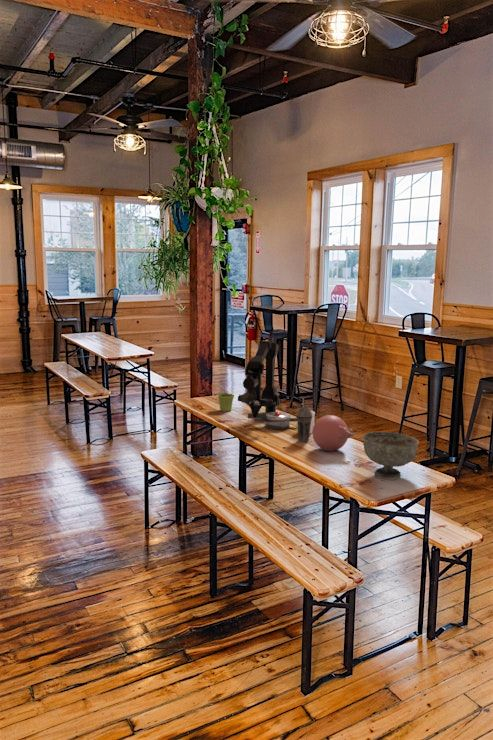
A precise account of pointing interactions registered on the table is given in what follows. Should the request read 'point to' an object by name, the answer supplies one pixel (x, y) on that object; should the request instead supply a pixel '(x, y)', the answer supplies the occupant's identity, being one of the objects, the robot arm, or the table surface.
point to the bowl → (390, 452)
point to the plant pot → (225, 402)
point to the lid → (272, 416)
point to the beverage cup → (304, 423)
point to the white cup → (312, 422)
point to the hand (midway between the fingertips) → (254, 417)
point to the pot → (276, 423)
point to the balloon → (331, 433)
